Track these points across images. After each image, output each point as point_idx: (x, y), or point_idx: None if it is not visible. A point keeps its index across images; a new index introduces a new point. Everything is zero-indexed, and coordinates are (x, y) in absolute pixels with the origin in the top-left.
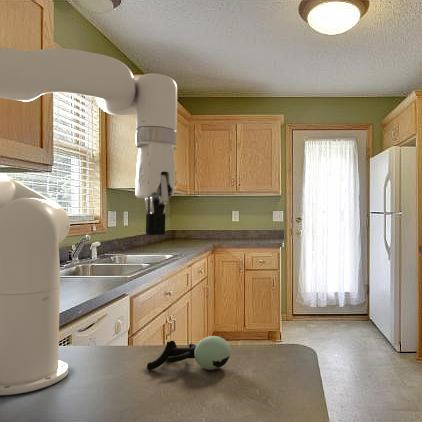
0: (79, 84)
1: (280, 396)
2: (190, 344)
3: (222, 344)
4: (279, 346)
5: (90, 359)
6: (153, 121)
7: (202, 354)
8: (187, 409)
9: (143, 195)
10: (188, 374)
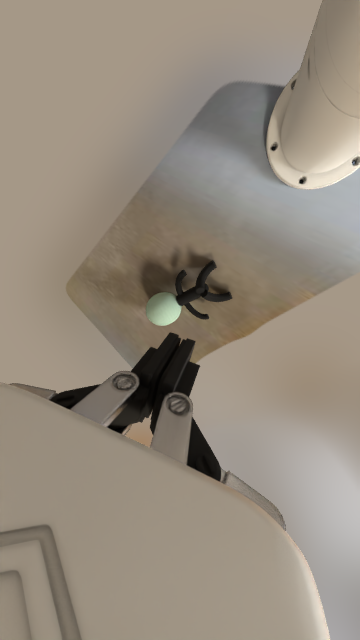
0: None
1: (95, 295)
2: (205, 316)
3: (146, 312)
4: None
5: (314, 232)
6: None
7: (157, 294)
8: (119, 236)
9: (62, 410)
10: (174, 281)
